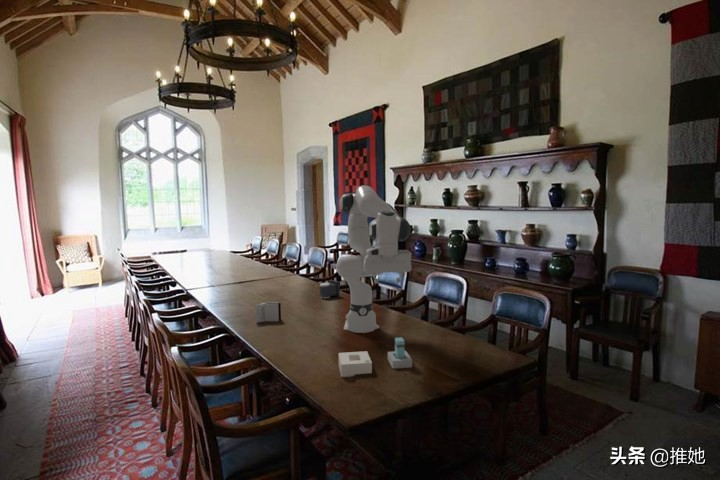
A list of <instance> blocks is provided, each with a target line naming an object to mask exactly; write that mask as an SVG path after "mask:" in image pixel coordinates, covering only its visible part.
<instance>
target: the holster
mask: <svg viewBox="0 0 720 480" xmlns="http://www.w3.org/2000/svg"><path fill="white" fill-rule="evenodd" d="M387 360H388V363H389V364H390V366H391V368H392V369H404V368H405V369H406V368H409V369H410V368H413V359H412V358H411V356H410V354H409V353H408V352H407V350H404V358H402V359H396V358H395V350H393V351H387Z"/></svg>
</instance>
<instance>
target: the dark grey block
mask: <svg viewBox="0 0 720 480" xmlns="http://www.w3.org/2000/svg"><path fill="white" fill-rule="evenodd" d="M340 289H341V288H340V281H337V280H333V279H329V280H328V282H321V283H320V284H319V287H318V290H319V297H320V299H322V298H324V299H323V300H325V299H326V298H327V299H330V298H331V297H336V296H337V297H336V298H340V296H341V291H340Z"/></svg>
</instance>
